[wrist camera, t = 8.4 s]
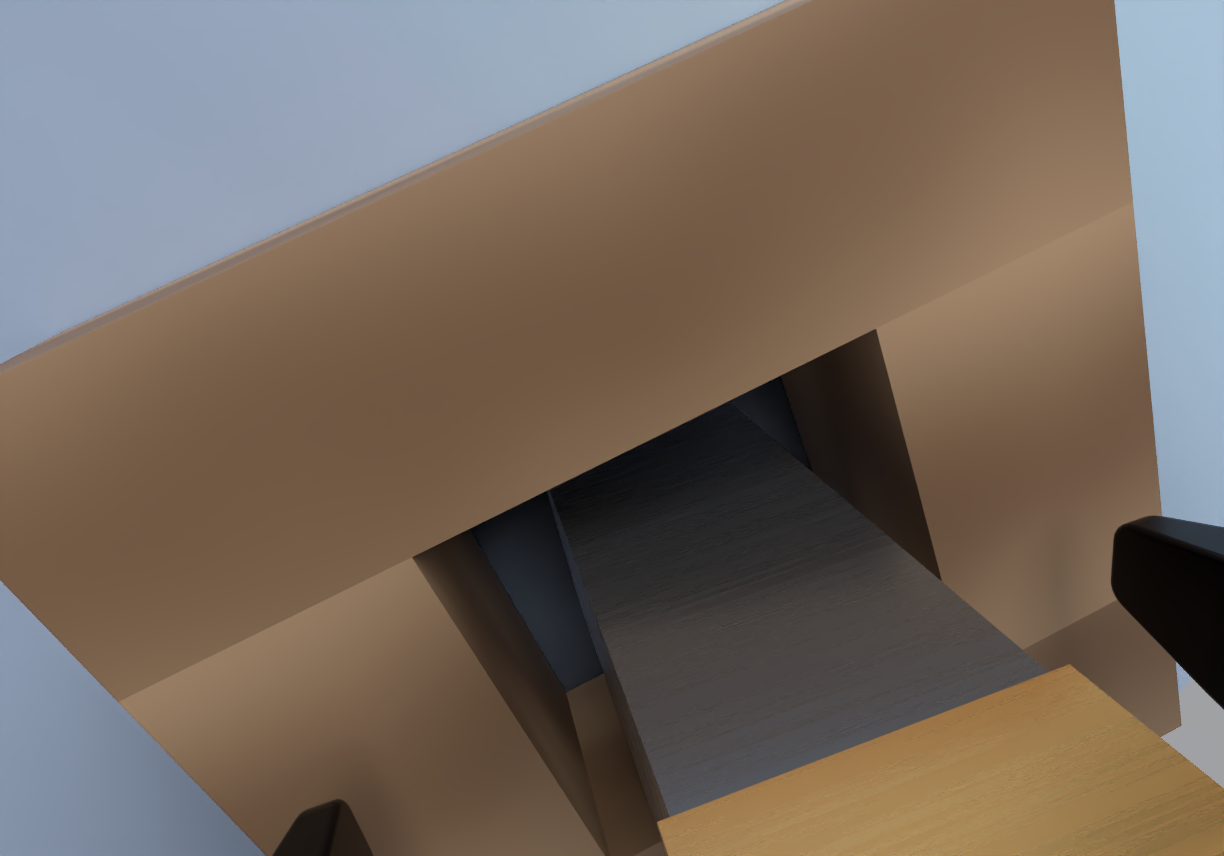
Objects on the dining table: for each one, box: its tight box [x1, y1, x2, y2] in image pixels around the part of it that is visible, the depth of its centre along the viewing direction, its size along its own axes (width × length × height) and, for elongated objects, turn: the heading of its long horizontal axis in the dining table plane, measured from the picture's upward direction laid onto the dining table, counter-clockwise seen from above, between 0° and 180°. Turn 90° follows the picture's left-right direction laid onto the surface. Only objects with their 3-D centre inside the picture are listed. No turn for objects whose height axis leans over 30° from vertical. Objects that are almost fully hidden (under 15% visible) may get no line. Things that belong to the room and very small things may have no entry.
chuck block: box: [0, 0, 1181, 856], centre depth 11 cm, size 12×12×4 cm
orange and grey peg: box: [547, 401, 1224, 856], centre depth 8 cm, size 3×3×8 cm
